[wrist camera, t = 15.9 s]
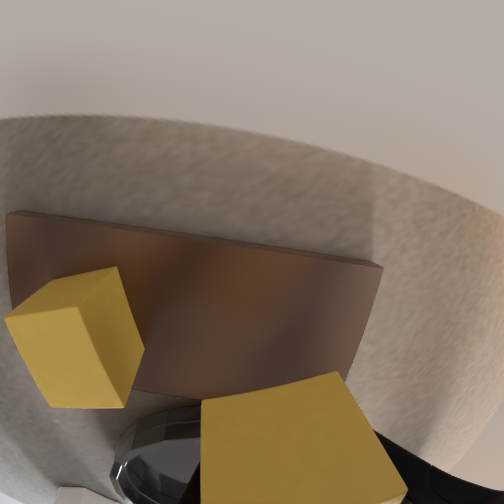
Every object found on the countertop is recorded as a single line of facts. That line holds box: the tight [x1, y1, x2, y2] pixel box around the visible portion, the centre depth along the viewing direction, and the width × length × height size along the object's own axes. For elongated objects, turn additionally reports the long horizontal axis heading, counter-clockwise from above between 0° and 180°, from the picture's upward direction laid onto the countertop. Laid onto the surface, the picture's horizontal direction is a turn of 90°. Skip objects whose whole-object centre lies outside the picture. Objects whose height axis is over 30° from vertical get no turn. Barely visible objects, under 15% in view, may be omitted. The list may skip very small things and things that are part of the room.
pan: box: [109, 405, 201, 504], centre depth 17 cm, size 16×16×3 cm
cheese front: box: [200, 371, 408, 504], centre depth 6 cm, size 4×4×4 cm
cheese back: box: [4, 266, 145, 408], centre depth 11 cm, size 4×4×4 cm
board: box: [6, 211, 383, 400], centre depth 14 cm, size 20×9×1 cm, turn 80°
